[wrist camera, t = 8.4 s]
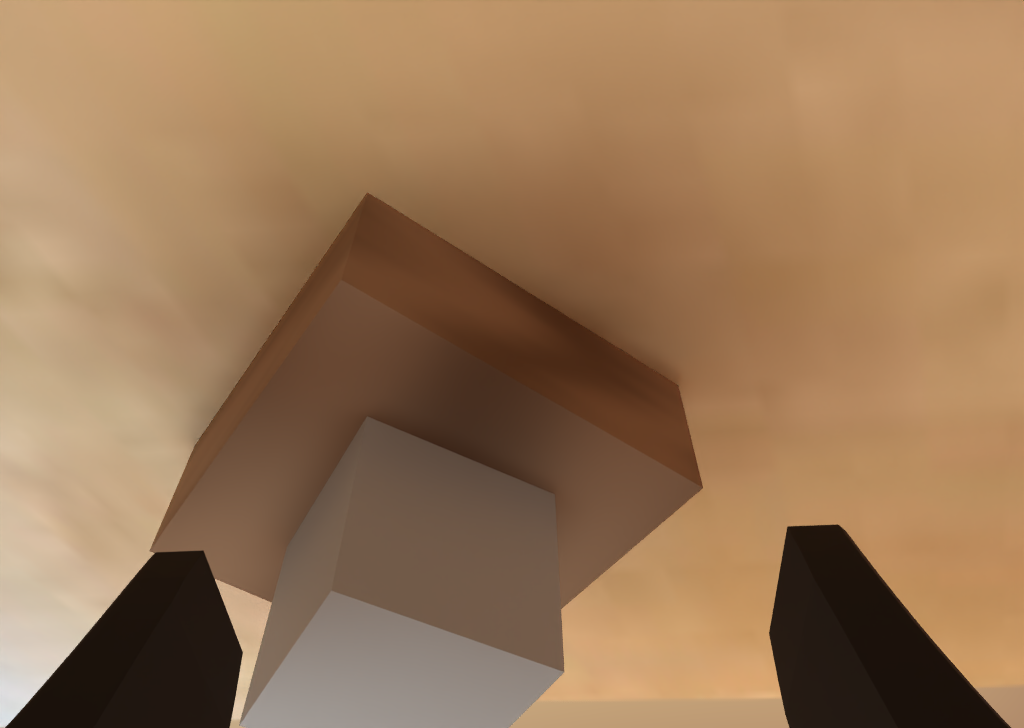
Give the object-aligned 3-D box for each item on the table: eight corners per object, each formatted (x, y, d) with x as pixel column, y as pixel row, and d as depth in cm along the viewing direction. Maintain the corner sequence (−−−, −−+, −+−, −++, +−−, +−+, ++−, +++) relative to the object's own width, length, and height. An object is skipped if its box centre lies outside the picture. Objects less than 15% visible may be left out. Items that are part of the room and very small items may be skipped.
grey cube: (554, 494, 20) (563, 671, 16) (459, 608, 22) (449, 787, 18) (367, 416, 18) (330, 590, 15) (287, 547, 21) (239, 725, 17)
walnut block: (676, 377, 23) (703, 487, 20) (475, 569, 27) (470, 686, 24) (369, 185, 20) (341, 279, 16) (198, 437, 24) (150, 550, 21)
